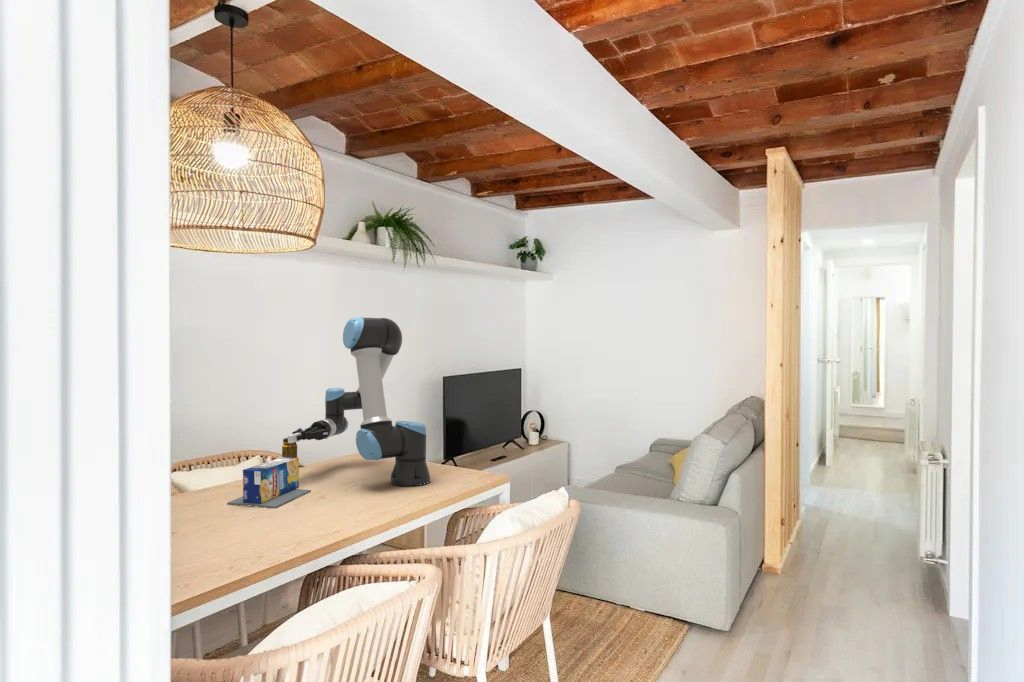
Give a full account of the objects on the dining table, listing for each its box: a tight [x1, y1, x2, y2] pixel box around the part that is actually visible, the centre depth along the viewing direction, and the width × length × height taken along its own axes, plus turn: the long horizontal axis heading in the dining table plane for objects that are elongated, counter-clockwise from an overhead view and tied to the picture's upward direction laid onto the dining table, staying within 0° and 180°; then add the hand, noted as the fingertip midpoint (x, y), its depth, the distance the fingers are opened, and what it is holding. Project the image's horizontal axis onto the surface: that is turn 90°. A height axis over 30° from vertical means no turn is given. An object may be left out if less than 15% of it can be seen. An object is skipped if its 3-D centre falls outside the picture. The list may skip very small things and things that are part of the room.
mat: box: [226, 488, 312, 509], centre depth 223 cm, size 18×22×1 cm
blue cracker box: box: [242, 456, 300, 503], centre depth 224 cm, size 7×11×22 cm
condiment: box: [281, 437, 304, 468], centre depth 272 cm, size 7×8×12 cm
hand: (289, 439), depth 235 cm, fingers closed
